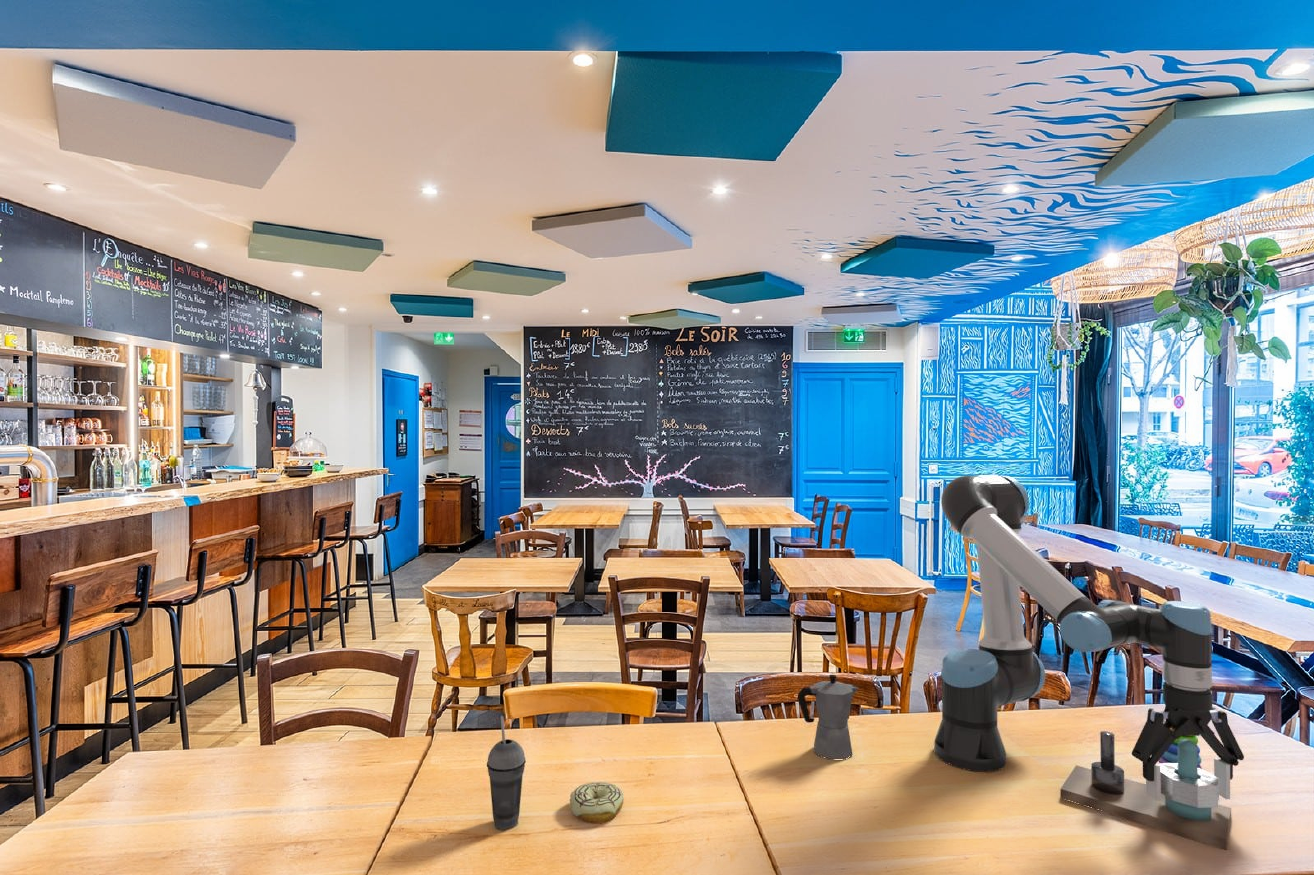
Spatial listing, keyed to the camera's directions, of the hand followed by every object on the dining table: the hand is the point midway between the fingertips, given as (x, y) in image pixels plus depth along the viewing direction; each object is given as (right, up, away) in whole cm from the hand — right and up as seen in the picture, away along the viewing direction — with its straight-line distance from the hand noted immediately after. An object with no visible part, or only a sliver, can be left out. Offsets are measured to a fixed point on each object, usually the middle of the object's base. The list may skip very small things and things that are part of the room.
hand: (1187, 796), depth 131 cm
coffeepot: (-61, -5, +29) cm, 68 cm away
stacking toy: (+11, -5, +17) cm, 21 cm away
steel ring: (0, 0, 0) cm, 0 cm away
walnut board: (-5, -5, +5) cm, 8 cm away
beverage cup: (-130, -5, -1) cm, 130 cm away
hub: (0, -3, 0) cm, 3 cm away
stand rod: (-9, -3, +9) cm, 13 cm away
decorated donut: (-113, -5, +4) cm, 114 cm away
